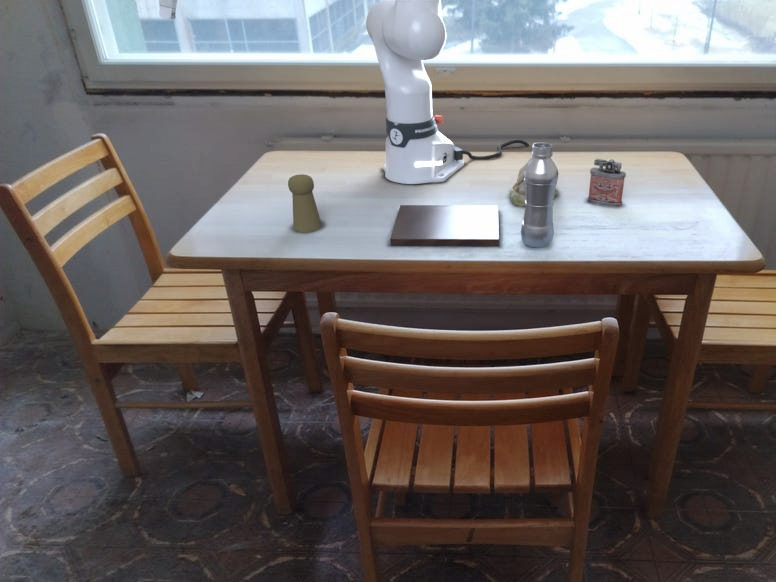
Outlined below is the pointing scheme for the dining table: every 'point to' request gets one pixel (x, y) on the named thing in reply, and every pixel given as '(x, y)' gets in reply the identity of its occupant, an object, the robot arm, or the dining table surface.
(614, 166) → the lighter
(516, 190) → the ceramic model
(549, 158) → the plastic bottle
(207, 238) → the dining table surface
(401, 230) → the walnut board
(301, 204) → the olive tapered cylinder
